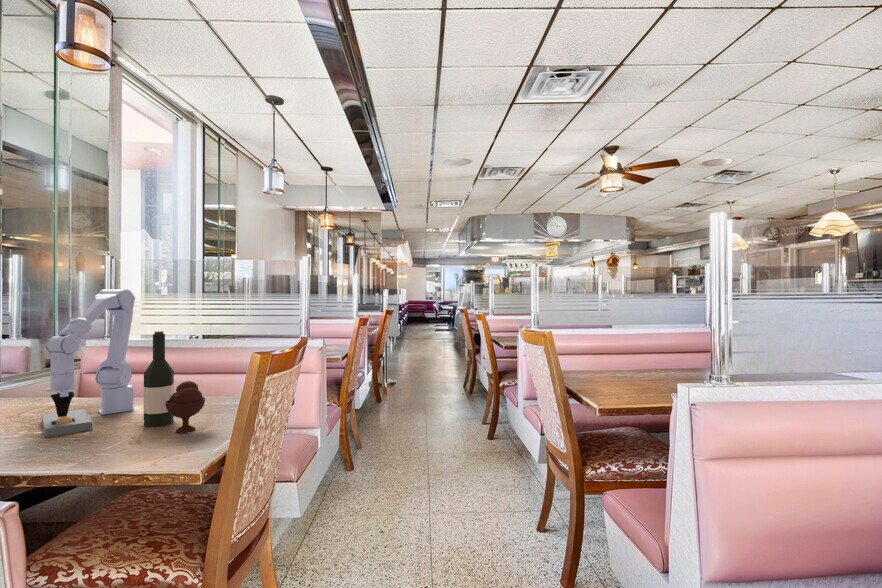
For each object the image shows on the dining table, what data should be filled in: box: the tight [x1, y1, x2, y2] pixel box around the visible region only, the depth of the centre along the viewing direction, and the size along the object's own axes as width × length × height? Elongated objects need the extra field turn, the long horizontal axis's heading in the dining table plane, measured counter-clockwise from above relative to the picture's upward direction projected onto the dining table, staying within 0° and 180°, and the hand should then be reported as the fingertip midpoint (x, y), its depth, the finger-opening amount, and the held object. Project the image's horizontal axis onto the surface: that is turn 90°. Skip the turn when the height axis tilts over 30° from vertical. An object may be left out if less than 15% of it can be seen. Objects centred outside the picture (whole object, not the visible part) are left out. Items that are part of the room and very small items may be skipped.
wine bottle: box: [143, 330, 175, 428], centre depth 146 cm, size 8×8×30 cm
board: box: [41, 408, 93, 438], centre depth 144 cm, size 11×22×2 cm, turn 44°
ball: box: [56, 416, 73, 424], centre depth 141 cm, size 4×4×4 cm
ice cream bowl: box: [165, 380, 206, 434], centre depth 138 cm, size 11×11×15 cm
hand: (62, 416), depth 143 cm, fingers closed
